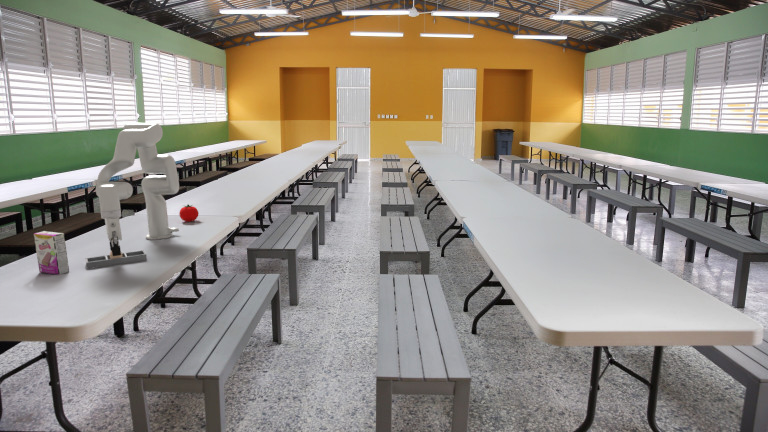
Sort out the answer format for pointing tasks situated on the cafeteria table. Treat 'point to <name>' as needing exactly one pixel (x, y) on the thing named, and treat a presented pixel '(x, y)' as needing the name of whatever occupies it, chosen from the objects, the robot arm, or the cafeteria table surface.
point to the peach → (115, 256)
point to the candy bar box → (51, 252)
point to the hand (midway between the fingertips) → (115, 252)
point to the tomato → (188, 213)
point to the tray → (115, 259)
